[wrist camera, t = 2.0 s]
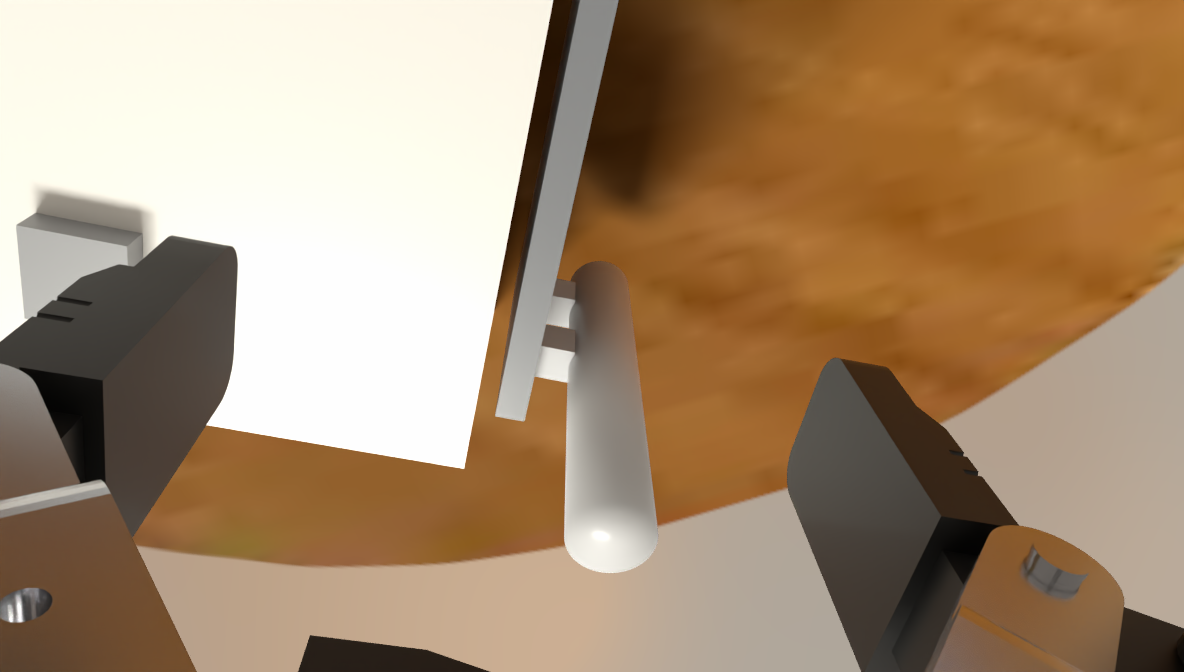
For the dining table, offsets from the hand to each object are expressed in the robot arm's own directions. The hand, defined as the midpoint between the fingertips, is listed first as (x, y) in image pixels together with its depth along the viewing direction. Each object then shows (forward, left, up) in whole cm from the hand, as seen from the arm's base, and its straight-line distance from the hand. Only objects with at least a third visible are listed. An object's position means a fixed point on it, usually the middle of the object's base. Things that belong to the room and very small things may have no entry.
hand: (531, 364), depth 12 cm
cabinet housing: (+9, +3, -26) cm, 27 cm away
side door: (-2, +3, -25) cm, 25 cm away
